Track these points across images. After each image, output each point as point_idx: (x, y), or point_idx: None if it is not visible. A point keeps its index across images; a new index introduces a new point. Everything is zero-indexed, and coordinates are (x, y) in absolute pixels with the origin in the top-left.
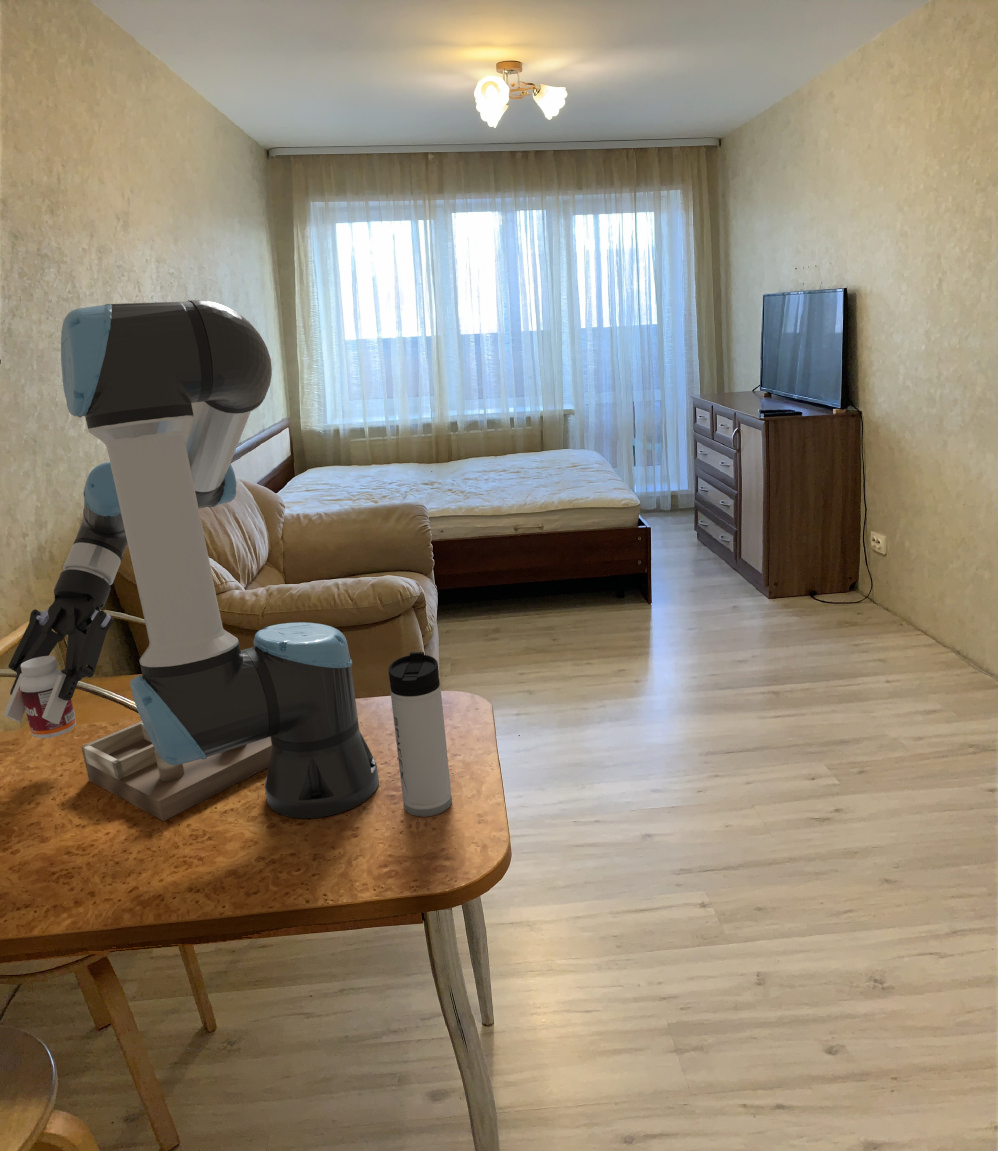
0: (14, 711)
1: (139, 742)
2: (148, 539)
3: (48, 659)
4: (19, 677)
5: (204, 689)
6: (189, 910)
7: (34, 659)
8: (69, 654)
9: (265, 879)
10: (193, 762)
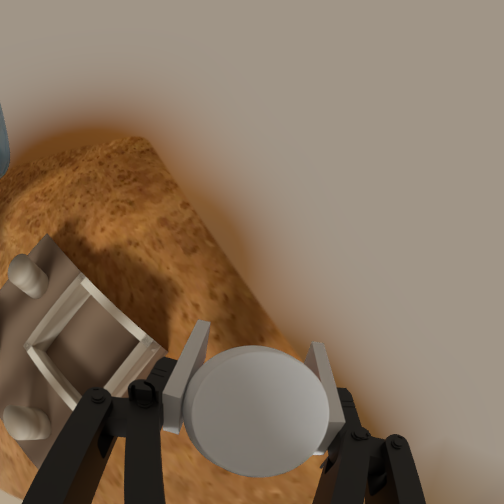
0: (308, 362)
1: None
2: None
3: (225, 435)
4: (340, 412)
5: None
6: (48, 158)
7: (299, 441)
8: (145, 460)
9: (12, 184)
10: (21, 314)
